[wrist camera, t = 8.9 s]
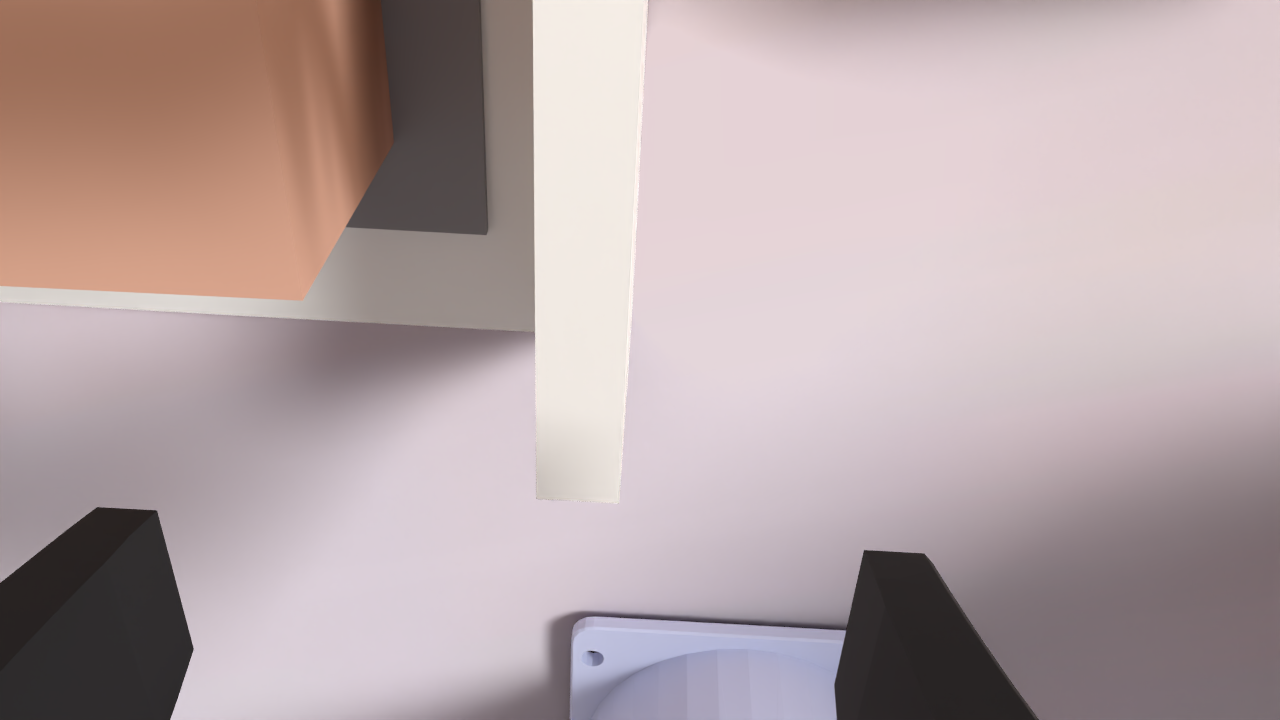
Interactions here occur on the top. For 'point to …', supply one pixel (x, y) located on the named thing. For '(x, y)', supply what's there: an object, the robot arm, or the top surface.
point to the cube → (186, 141)
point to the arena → (494, 210)
